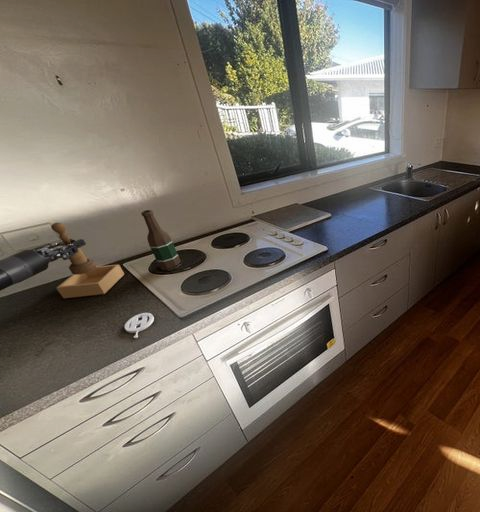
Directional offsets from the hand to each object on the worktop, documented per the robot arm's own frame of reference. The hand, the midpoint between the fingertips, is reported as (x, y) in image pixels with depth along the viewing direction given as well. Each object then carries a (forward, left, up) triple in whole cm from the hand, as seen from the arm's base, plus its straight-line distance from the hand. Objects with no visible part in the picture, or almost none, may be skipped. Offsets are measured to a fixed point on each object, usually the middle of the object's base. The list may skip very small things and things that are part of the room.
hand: (77, 241), depth 100 cm
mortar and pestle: (-1, -3, -10) cm, 11 cm away
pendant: (+26, -29, -17) cm, 43 cm away
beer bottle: (+21, +7, -17) cm, 28 cm away
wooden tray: (-1, -2, -17) cm, 17 cm away
